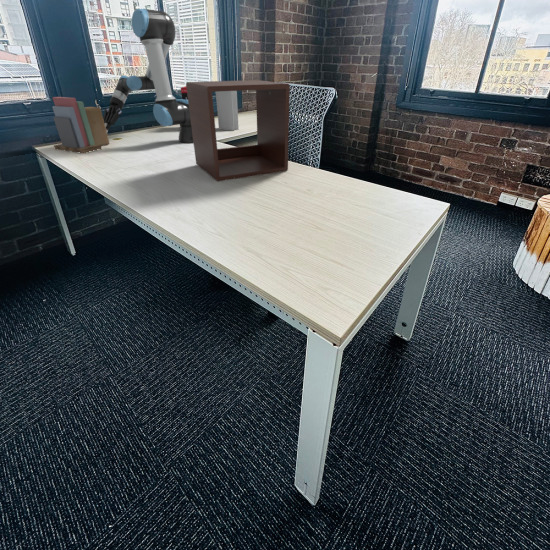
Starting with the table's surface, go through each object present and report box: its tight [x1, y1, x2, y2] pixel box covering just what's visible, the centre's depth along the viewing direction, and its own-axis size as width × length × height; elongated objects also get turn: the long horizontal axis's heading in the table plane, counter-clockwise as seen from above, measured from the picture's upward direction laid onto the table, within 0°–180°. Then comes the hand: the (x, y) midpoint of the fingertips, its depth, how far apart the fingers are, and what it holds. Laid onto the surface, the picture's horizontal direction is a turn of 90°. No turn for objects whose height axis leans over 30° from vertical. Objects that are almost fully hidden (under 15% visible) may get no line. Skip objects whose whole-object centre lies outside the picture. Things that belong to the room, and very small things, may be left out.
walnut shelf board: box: [53, 143, 102, 154], centre depth 189 cm, size 24×12×2 cm, turn 64°
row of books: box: [52, 96, 95, 148], centre depth 183 cm, size 15×10×24 cm
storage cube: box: [185, 79, 291, 182], centre depth 148 cm, size 35×29×35 cm
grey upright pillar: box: [215, 91, 240, 132], centre depth 234 cm, size 14×6×30 cm, turn 58°
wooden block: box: [84, 106, 110, 147], centre depth 193 cm, size 10×10×20 cm
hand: (103, 133), depth 202 cm, fingers closed
